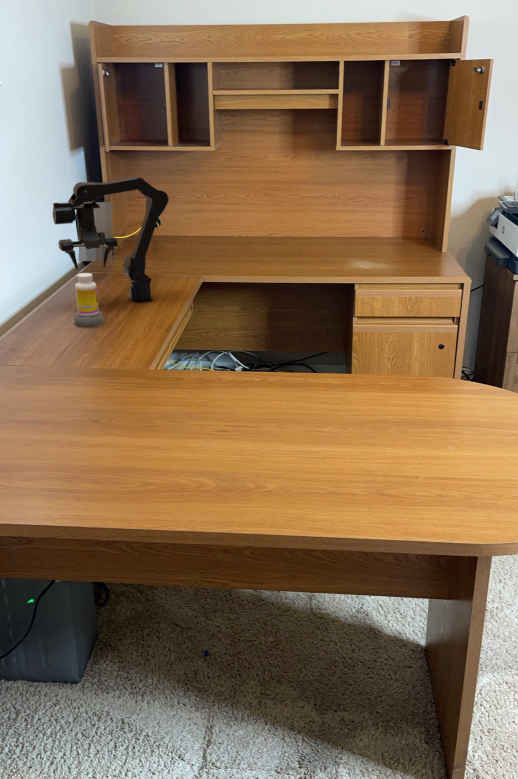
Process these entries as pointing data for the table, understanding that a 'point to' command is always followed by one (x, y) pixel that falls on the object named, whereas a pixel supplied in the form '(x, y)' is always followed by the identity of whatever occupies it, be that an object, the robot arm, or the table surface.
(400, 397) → the table surface
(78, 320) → the puck
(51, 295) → the table surface
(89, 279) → the supplement bottle
